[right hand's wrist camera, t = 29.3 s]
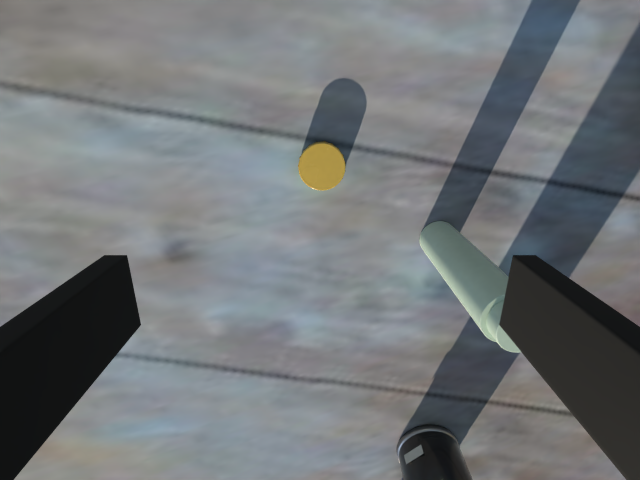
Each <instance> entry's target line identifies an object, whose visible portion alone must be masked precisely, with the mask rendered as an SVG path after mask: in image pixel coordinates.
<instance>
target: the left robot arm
mask: <svg viewBox="0 0 640 480" xmlns="http://www.w3.org/2000/svg"><path fill="white" fill-rule="evenodd" d="M397 455H398V460H399V462H400V466H401V470H402V475H403V480H472V477H471V475H470V472H469V470H468V468H467V465H466V462H465V460H464V458H463V455H462V453H461V450H460V446H459V444H458V441H457V439H456V437H455V435H454V434H453V433H452V432H451V431H449V430H448V429H446V428H444V427H441V426H435V425H425V426H420V427H417V428H414V429H412V430H410V431H408V432H407V433H406V434H404V435H403V436H402V438H401V439H400V440H399V442H398V445H397Z"/></svg>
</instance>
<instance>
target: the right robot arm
mask: <svg viewBox="0 0 640 480" xmlns="http://www.w3.org/2000/svg"><path fill="white" fill-rule="evenodd" d="M140 325H141V323H140V318H139V313H138V308H137V303H136V298H135V293H134V288H133V283H132V278H131V273H130V268H129V263H128V258H127V255H104V256H103V257H101V258H100V259H98V260H97V261H96V262H94V263H93V264H91V265H90V266H88V267H87V268H85V269H84V270H82V271H81V272H80V273H78V274H77V275H75V276H74V277H72V278H71V279H69V280H68V281H66V282H65V283H64V284H62V285H61V286H59V287H58V288H56V289H55V290H53V291H52V292H50V293H49V294H48V295H46V296H45V297H43V298H42V299H40V300H39V301H37V302H36V303H34V304H33V305H32V306H30V307H29V308H27V309H26V310H24V311H23V312H21V313H20V314H18V315H17V316H16V317H14V318H13V319H11V320H10V321H8V322H7V323H5V324H4V325H2V326H1V327H0V480H14V478H15V477H16V476H17V475H18V474H19V472H20V471H21V470H22V469H23V468H24V466H25V465H26V464H27V463H28V461H29V460H30V459H31V458H32V457H33V455H34V454H35V453H36V452H37V451H38V449H39V448H40V447H41V446H42V444H43V443H44V442H45V441H46V440H47V438H48V437H49V436H50V435H51V434H52V432H53V431H54V430H55V429H56V427H57V426H58V425H59V424H60V423H61V421H62V420H63V419H64V418H65V416H66V415H67V414H68V413H69V412H70V410H71V409H72V408H73V407H74V406H75V404H76V403H77V402H78V401H79V399H80V398H81V397H82V396H83V395H84V393H85V392H86V391H87V390H88V389H89V387H90V386H91V385H92V384H93V382H94V381H95V380H96V379H97V378H98V376H99V375H100V374H101V373H102V372H103V370H104V369H105V368H106V367H107V365H108V364H109V363H110V362H111V361H112V359H113V358H114V357H115V356H116V355H117V353H118V352H119V351H120V350H121V348H122V347H123V346H124V345H125V344H126V342H127V341H128V340H129V339H130V337H131V336H132V335H133V334H134V333H135V331H136V330H137V329H138V328H139V327H140ZM499 325H500V327H501V328H502V329H503V330H504V331H505V333H506V334H507V335H508V336H509V337H510V339H511V340H512V341H513V342H514V344H515V345H516V346H517V347H518V348H519V350H520V351H521V352H522V353H523V355H524V356H525V357H526V358H527V359H528V361H529V362H530V363H531V364H532V365H533V367H534V368H535V369H536V370H537V372H538V373H539V374H540V375H541V376H542V378H543V379H544V380H545V381H546V382H547V384H548V385H549V386H550V387H551V389H552V390H553V391H554V392H555V393H556V395H557V396H558V397H559V398H560V399H561V401H562V402H563V403H564V404H565V406H566V407H567V408H568V409H569V410H570V412H571V413H572V414H573V415H574V417H575V418H576V419H577V420H578V421H579V423H580V424H581V425H582V426H583V427H584V429H585V430H586V431H587V432H588V434H589V435H590V436H591V437H592V438H593V440H594V441H595V442H596V443H597V444H598V446H599V447H600V448H601V449H602V451H603V452H604V453H605V454H606V455H607V457H608V458H609V459H610V460H611V461H612V463H613V464H614V465H615V466H616V468H617V469H618V470H619V471H620V472H621V474H622V475H623V476H624V477H625V478H626V480H640V327H639V326H638V325H636V324H635V323H633V322H632V321H630V320H629V319H627V318H626V317H624V316H623V315H622V314H620V313H619V312H617V311H616V310H614V309H613V308H611V307H610V306H608V305H607V304H606V303H604V302H603V301H601V300H600V299H598V298H597V297H595V296H594V295H592V294H591V293H590V292H588V291H587V290H585V289H584V288H582V287H581V286H579V285H578V284H576V283H575V282H574V281H572V280H571V279H569V278H568V277H566V276H565V275H563V274H562V273H560V272H559V271H558V270H556V269H555V268H553V267H552V266H550V265H549V264H547V263H546V262H544V261H543V260H542V259H540V258H539V257H537V256H536V255H513V258H512V263H511V268H510V273H509V278H508V283H507V288H506V293H505V298H504V303H503V308H502V313H501V318H500V323H499Z"/></svg>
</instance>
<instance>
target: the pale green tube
mask: <svg viewBox="0 0 640 480" xmlns="http://www.w3.org/2000/svg"><path fill="white" fill-rule="evenodd" d="M420 245H421V248H422V249H423V251H424V252H425V253H426V255H427V256H428V257H429V259H430V260H431V262H432V263H433V264H434V266H435V267H436V269H437V270H438V271H439V273H440V274H441V275H442V277H443V278H444V280H445V281H446V282H447V284H448V285H449V287H450V288H451V289H452V291H453V292H454V293H455V295H456V296H457V298H458V299H459V300H460V302H461V303H462V305H463V306H464V307H465V309H466V310H467V311H468V313H469V314H470V316H471V317H472V318H473V320H474V321H475V323H476V324H477V325H478V327H479V328H480V329H481V331H482V332H483V334H484V335H485V336H486V337H487V338H489V339H490V340H492V341H494V342H497V343H498V344H499V345H500V346H501V347H502V348H503V349H505V350H507V351H509V352H521V351H520V350H519V348H518V347H517V346H516V345H515V344H514V342H513V341H512V340H511V339H510V337H509V336H508V335H507V334H506V333H505V331H504V330H503V329H502V328H501V327H500V325H499V323H500V318H501V313H502V308H503V303H504V298H505V293H506V288H507V283H508V278H509V276H507V275H506V274H505V273H504V272H503V271H502V270H501V269H500V268H499V267H497V266H496V265H495V264H494V263H493V262H492V261H491V260H490V259H488V258H487V257H486V256H485V255H484V254H483V253H482V252H481V251H480V250H478V249H477V248H476V247H475V246H474V245H473V244H472V243H471V242H470V241H468V240H467V239H466V238H465V237H464V236H463V235H462V234H461V233H460V232H458V231H457V230H456V229H455V228H454V227H453V226H452V225H451V224H449V223H447V222H444V221H436V222H433V223H430V224H429V225H427V226H426V227H425V228H424V229H423V231H422V232H421V235H420Z"/></svg>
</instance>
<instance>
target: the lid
mask: <svg viewBox="0 0 640 480" xmlns="http://www.w3.org/2000/svg"><path fill="white" fill-rule="evenodd" d="M299 159H300V160H299V165H298V167H299V174H300V176H301V178H302V180H303V181H304V182H305V184H307V185H308V186H309V187H311V188H313V189H316V190H328V189H331V188H333V187H335V186H336V185H337V184H338V183H339V182H340V181H341V180H342V178H343V176H344V173H345V164H346V163H345V161H344V158H343V154H342V153H341V152H340V150H339V148H337V147H336V146H334V145H333V144H332V143H328V142H325V141H324V142H316V143H313V144H311V145H309V146H308V147H307V148H306V149H305V150H303V153H302V155H301V156H300V158H299Z"/></svg>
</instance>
